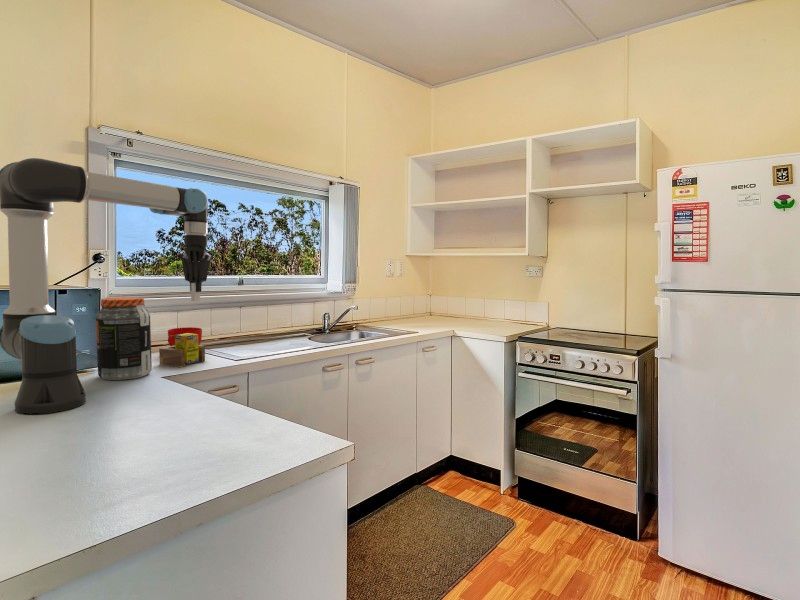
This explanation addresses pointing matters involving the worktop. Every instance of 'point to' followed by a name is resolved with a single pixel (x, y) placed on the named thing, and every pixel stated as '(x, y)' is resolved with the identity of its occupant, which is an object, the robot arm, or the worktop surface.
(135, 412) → the worktop surface
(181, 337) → the supplement box
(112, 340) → the supplement tub
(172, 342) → the red ribbed container
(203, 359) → the brown rectangular block
